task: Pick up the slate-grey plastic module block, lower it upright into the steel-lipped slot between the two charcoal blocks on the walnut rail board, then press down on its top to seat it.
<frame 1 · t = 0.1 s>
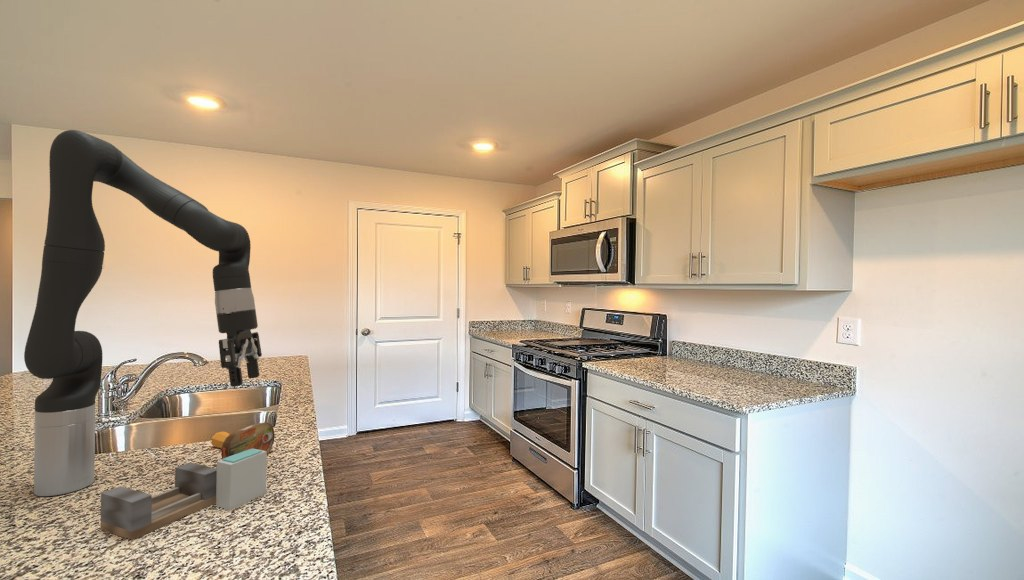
hand: (245, 381, 101), 22 cm above the countertop, tool pointing down, fingers open, 8 cm apart
tin: (249, 461, 113), on the countertop, touching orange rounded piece
rack: (163, 514, 86), on the countertop
module: (241, 500, 93), on the countertop
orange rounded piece: (240, 453, 119), on the countertop, touching tin
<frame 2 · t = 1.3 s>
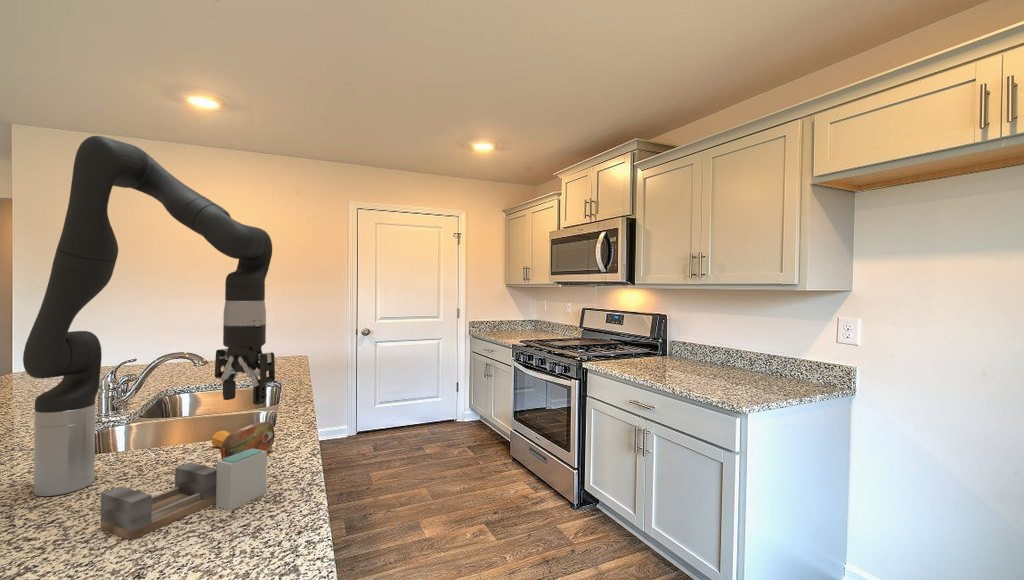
hand: (244, 401, 93), 20 cm above the countertop, tool pointing down, fingers open, 8 cm apart
nothing on the countertop moved.
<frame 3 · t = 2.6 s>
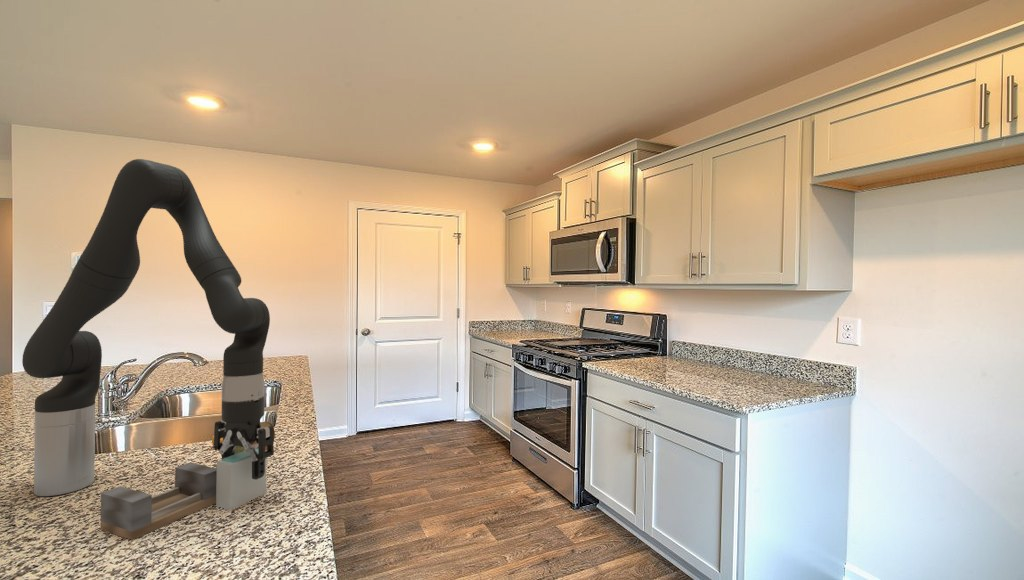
hand: (243, 474, 92), 5 cm above the countertop, tool pointing down, fingers open, 8 cm apart
tin: (249, 460, 113), on the countertop
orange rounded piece: (241, 452, 120), on the countertop
everything else where it was.
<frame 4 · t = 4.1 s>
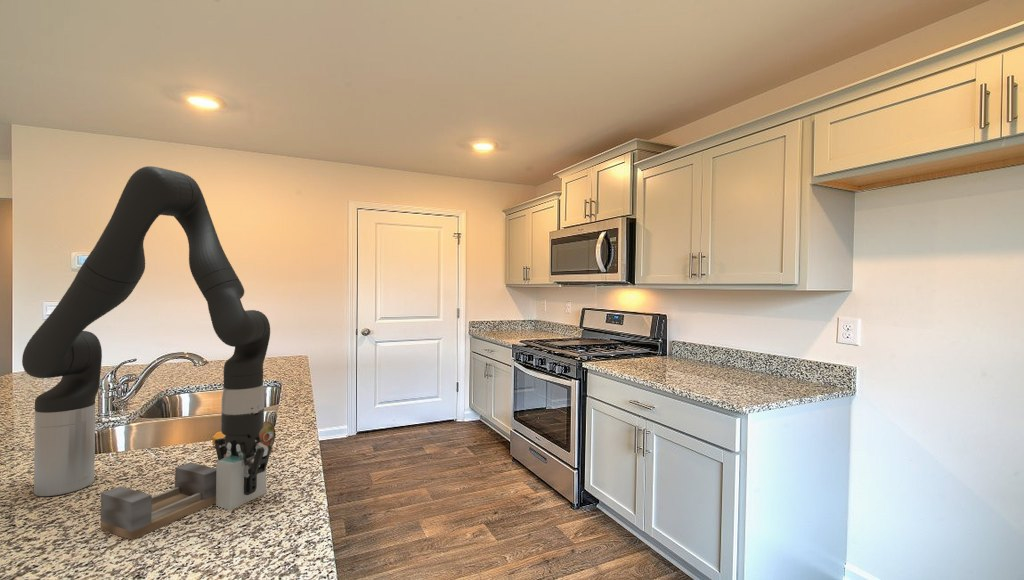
hand: (241, 490, 93), 2 cm above the countertop, tool pointing down, fingers closed on module, 4 cm apart
tin: (249, 459, 114), on the countertop, touching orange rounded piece
module: (241, 499, 93), on the countertop, touching gripper
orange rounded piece: (242, 452, 120), on the countertop, touching tin
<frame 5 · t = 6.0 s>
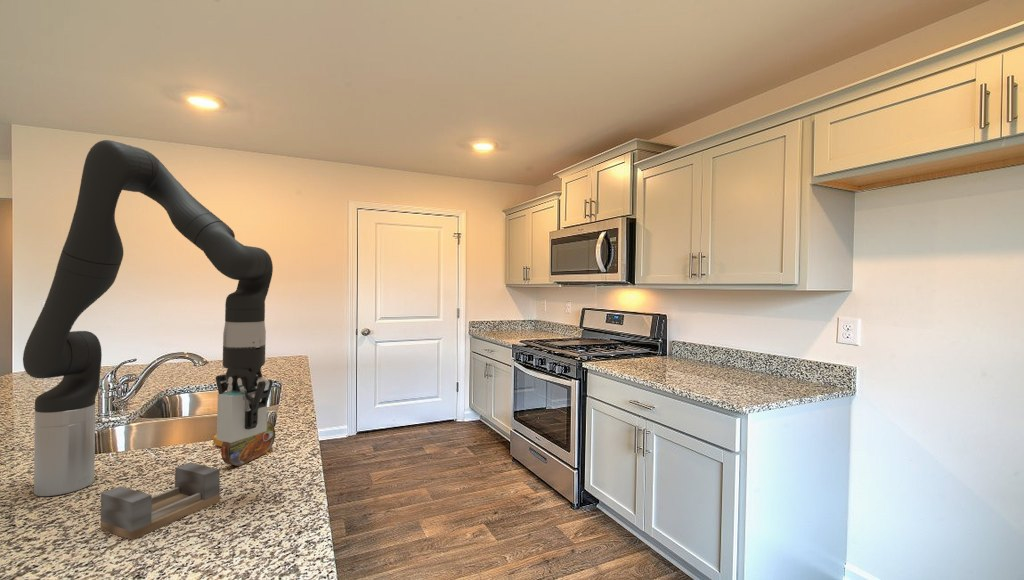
hand: (242, 426, 93), 15 cm above the countertop, tool pointing down, fingers closed on module, 4 cm apart
tin: (249, 459, 114), on the countertop
module: (242, 435, 93), point 13 cm above the countertop, touching gripper
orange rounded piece: (243, 451, 120), on the countertop
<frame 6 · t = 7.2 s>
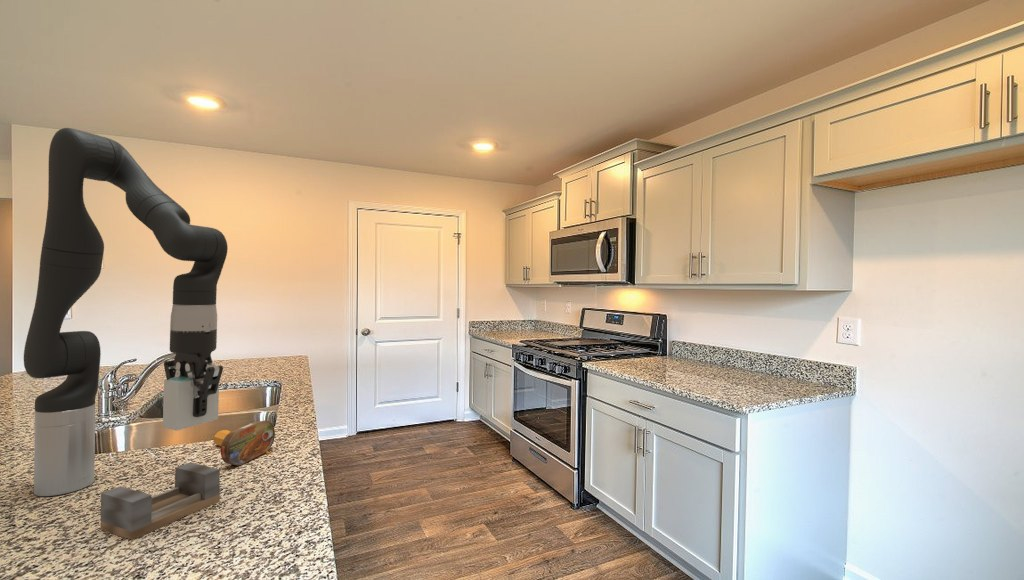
hand: (191, 414, 89), 19 cm above the countertop, tool pointing down, fingers closed on module, 4 cm apart
tin: (249, 458, 114), on the countertop
module: (191, 423, 89), point 17 cm above the countertop, touching gripper
everything else where it was.
when the fingers open (4 cm above the countertop, at t = 10.7 s): module stays where it is, resting on rack.
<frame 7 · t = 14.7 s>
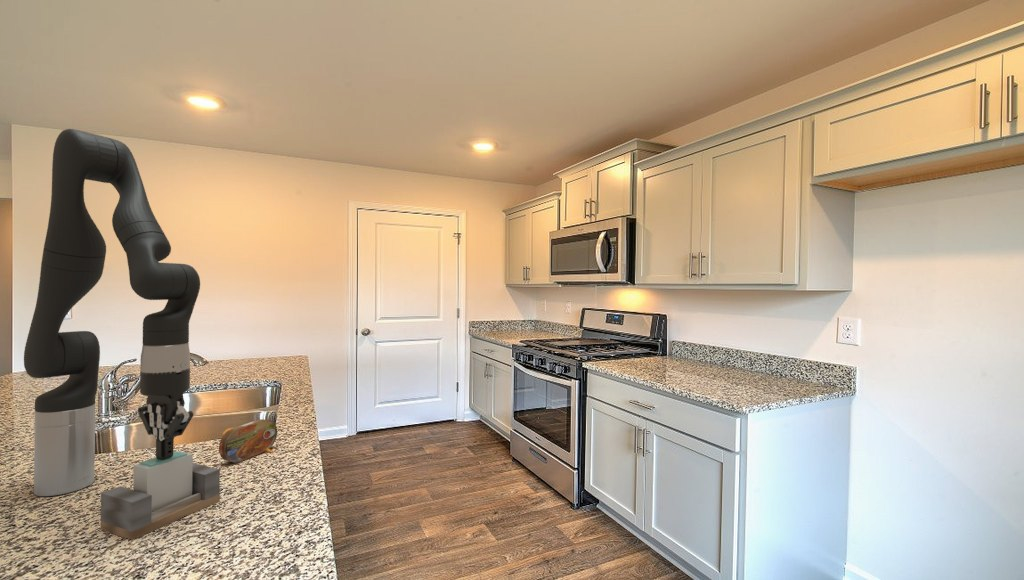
hand: (164, 458, 86), 11 cm above the countertop, tool pointing down, fingers closed
tin: (248, 456, 116), on the countertop
module: (163, 506, 86), point 1 cm above the countertop, touching gripper, rack
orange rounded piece: (249, 449, 122), on the countertop
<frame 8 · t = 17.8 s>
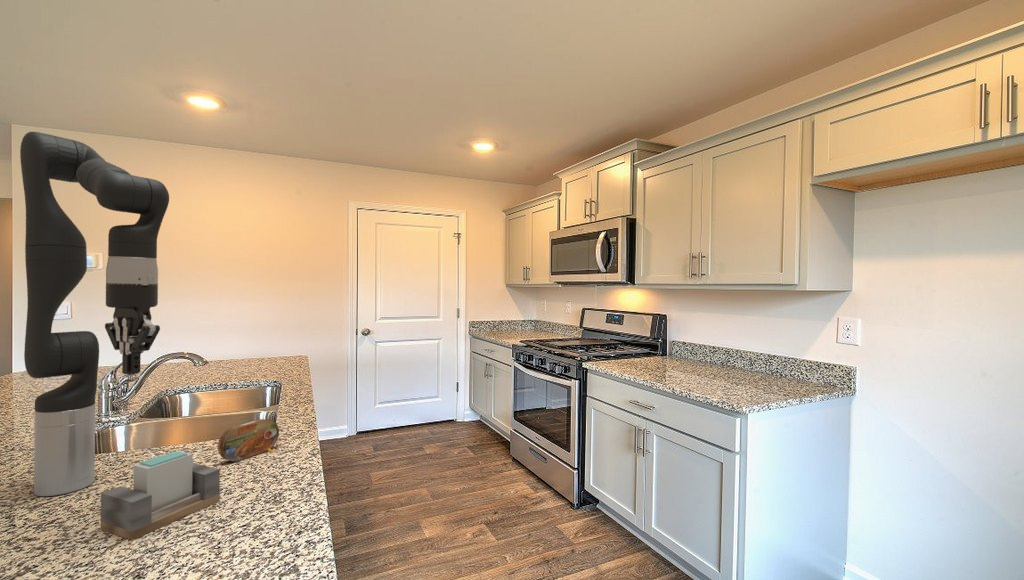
hand: (131, 373, 85), 27 cm above the countertop, tool pointing down, fingers closed
tin: (249, 455, 116), on the countertop, touching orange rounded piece
module: (163, 506, 86), point 1 cm above the countertop, touching rack
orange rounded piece: (251, 448, 123), on the countertop, touching tin
at the end: module 0.1 cm off-centre on the rack, point 1.5 cm above the rack's base; module tilted 0°; the gripper is holding nothing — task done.
